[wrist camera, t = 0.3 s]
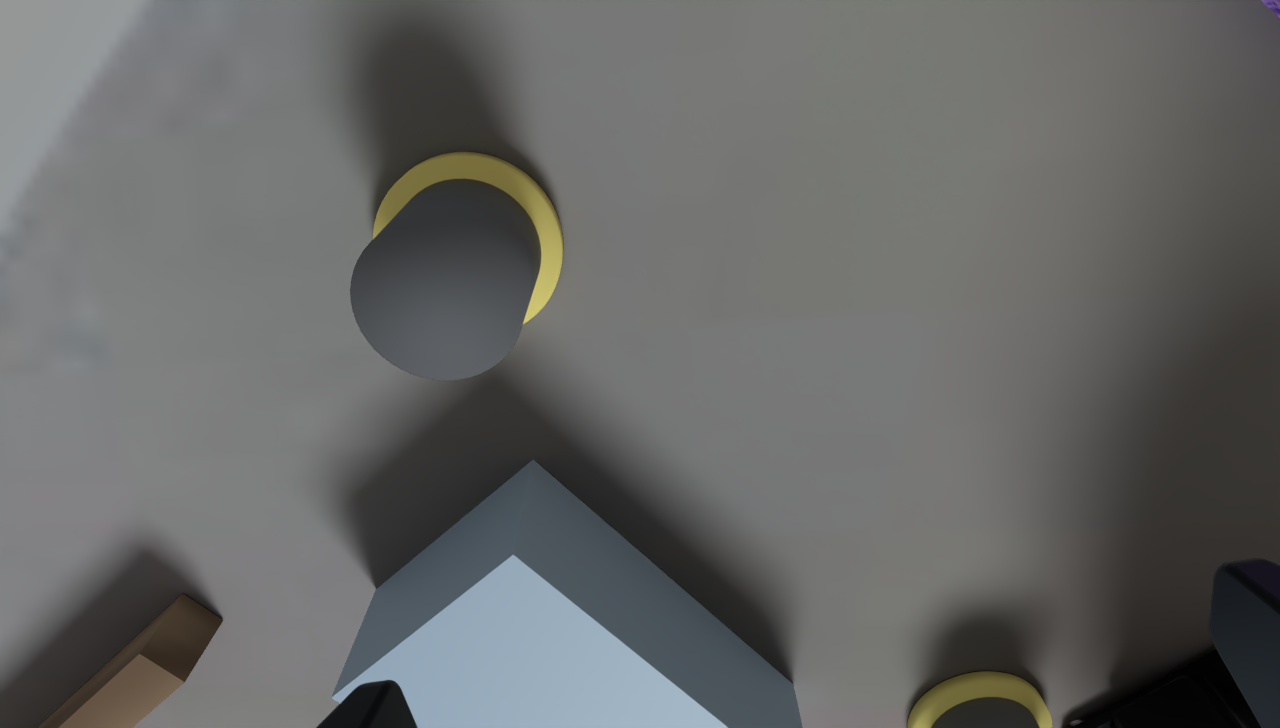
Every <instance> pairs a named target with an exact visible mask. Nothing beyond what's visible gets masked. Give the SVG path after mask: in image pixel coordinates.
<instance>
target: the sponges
mask: <svg viewBox="0 0 1280 728" xmlns="http://www.w3.org/2000/svg"><path fill="white" fill-rule="evenodd" d="M1261 1H1262V2H1263V3H1264V4H1265V5H1266V6H1267V7H1269V8H1270V9H1272V10H1273V11H1274V12H1275V13H1276V15H1277V16H1278V17H1279V18H1280V0H1261Z"/></svg>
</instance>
